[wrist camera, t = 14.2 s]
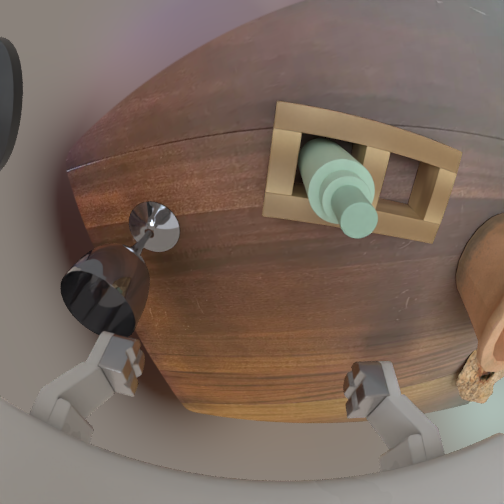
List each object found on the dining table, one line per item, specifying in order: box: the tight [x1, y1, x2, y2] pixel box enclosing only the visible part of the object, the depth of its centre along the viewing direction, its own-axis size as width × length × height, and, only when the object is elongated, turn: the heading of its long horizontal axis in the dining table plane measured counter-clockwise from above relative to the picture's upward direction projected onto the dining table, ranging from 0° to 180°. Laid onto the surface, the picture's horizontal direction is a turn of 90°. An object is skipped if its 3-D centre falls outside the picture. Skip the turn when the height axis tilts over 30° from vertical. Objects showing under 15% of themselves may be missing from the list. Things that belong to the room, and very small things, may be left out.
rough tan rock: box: [457, 350, 504, 403], centre depth 44 cm, size 18×14×8 cm
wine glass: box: [61, 201, 180, 337], centre depth 28 cm, size 8×8×15 cm
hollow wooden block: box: [262, 101, 462, 244], centre depth 26 cm, size 11×20×4 cm, turn 84°
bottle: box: [298, 138, 378, 238], centre depth 22 cm, size 5×5×15 cm
